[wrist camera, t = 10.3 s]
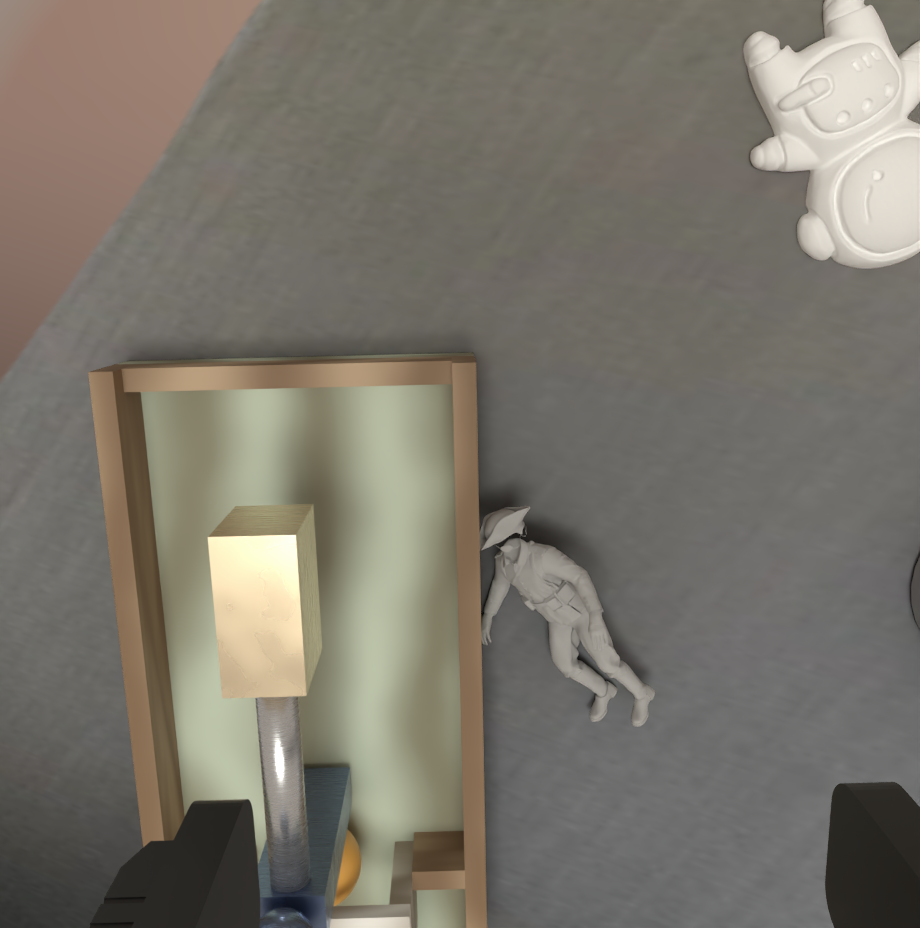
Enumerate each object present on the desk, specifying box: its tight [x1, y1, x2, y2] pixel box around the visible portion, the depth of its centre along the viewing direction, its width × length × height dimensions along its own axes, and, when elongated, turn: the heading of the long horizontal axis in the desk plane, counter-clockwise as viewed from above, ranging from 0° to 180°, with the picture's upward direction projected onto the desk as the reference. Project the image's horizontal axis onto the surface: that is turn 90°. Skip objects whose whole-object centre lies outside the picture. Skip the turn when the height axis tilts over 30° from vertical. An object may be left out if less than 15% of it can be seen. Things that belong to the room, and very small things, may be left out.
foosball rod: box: [208, 504, 352, 928], centre depth 36 cm, size 3×17×12 cm, turn 1°
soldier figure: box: [479, 506, 655, 727], centre depth 41 cm, size 8×5×12 cm
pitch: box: [88, 353, 487, 928], centre depth 40 cm, size 16×30×7 cm, turn 1°
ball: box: [334, 829, 362, 906], centre depth 42 cm, size 4×4×4 cm
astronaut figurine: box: [743, 0, 920, 269], centre depth 38 cm, size 9×12×3 cm
